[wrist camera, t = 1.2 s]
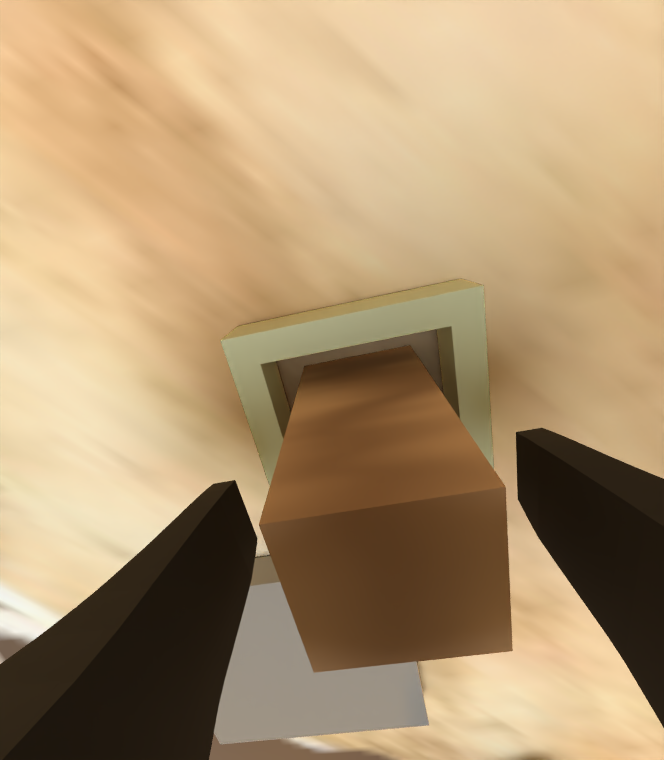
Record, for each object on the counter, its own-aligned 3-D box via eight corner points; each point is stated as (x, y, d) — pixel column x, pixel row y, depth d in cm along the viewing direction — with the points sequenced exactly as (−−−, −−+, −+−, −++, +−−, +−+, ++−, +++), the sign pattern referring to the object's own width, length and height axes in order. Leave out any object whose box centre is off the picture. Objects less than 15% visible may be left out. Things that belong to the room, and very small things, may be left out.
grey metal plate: (392, 538, 16) (397, 565, 15) (423, 692, 20) (428, 725, 19) (152, 572, 17) (135, 601, 16) (228, 711, 22) (220, 744, 20)
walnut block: (410, 345, 13) (505, 486, 5) (422, 438, 14) (512, 651, 7) (304, 366, 13) (258, 525, 6) (327, 454, 15) (314, 672, 7)
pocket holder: (461, 278, 12) (483, 285, 10) (476, 471, 15) (495, 504, 13) (237, 326, 13) (220, 340, 11) (292, 500, 16) (286, 535, 14)
